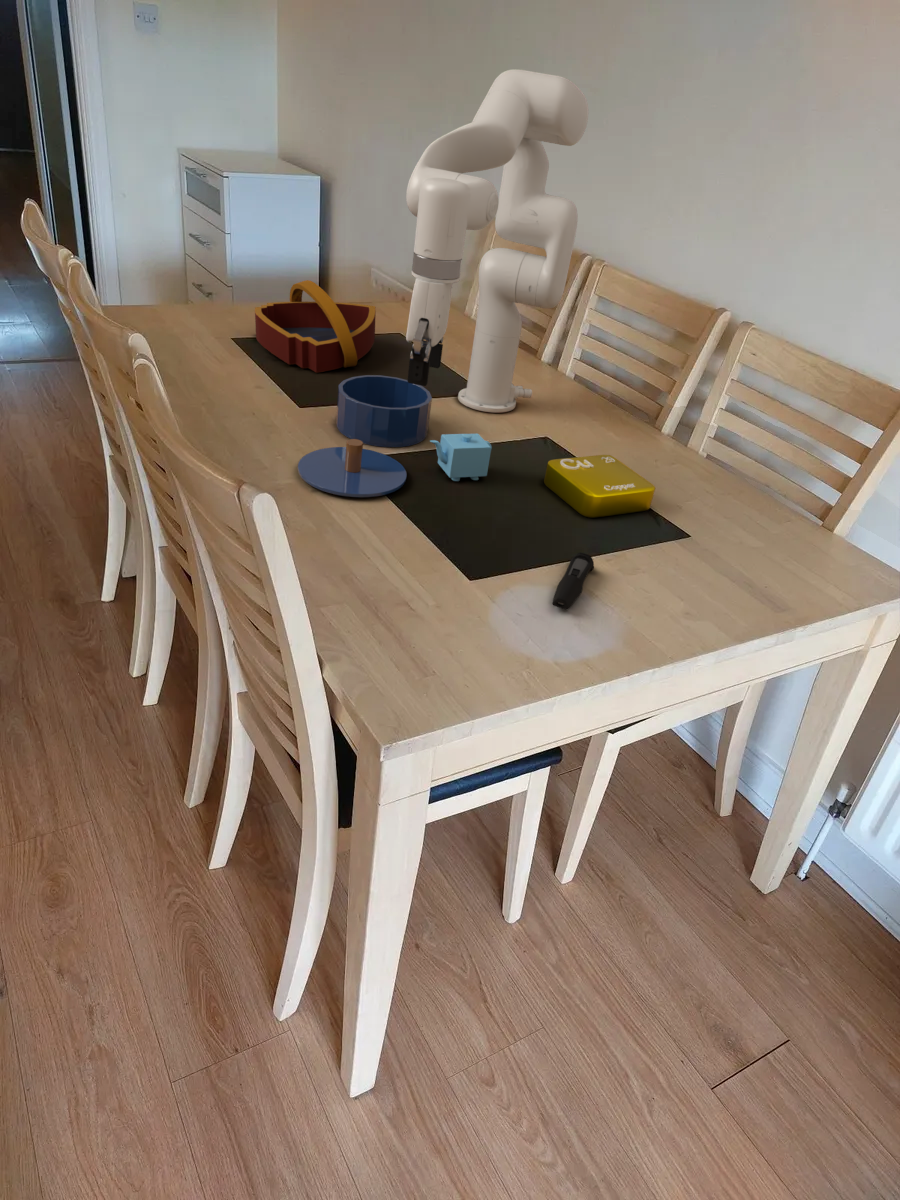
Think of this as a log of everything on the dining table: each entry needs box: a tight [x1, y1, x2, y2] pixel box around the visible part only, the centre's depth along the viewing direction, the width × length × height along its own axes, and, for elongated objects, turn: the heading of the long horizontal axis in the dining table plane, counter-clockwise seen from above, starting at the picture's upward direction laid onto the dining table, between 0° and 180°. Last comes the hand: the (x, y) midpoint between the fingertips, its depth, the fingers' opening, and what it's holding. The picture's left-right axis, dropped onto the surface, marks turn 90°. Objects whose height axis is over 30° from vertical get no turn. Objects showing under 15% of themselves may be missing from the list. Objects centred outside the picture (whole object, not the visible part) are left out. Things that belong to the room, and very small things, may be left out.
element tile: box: [543, 454, 656, 519], centre depth 154 cm, size 15×15×5 cm
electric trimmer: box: [551, 552, 595, 611], centre depth 127 cm, size 4×16×3 cm, turn 159°
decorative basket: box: [254, 279, 377, 374], centre depth 200 cm, size 34×29×15 cm
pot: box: [335, 374, 433, 448], centre depth 167 cm, size 18×18×8 cm
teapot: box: [429, 433, 493, 482], centre depth 154 cm, size 12×6×8 cm, turn 111°
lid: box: [297, 438, 407, 498], centre depth 148 cm, size 19×19×6 cm
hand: (424, 374), depth 143 cm, fingers open, 9 cm apart
